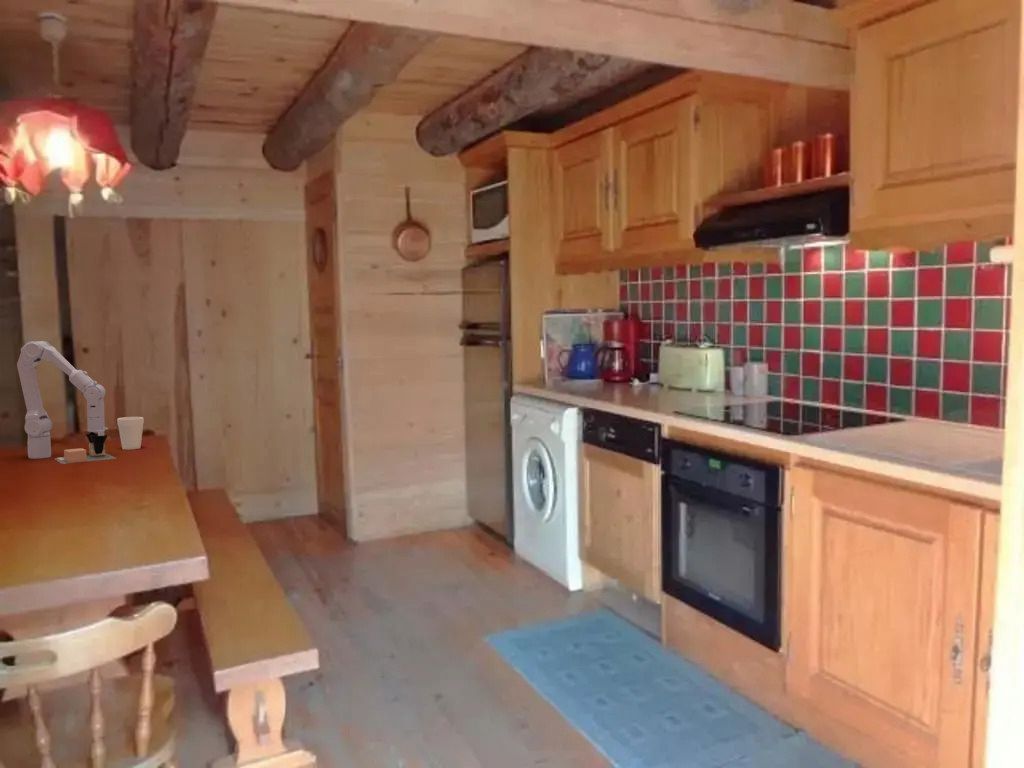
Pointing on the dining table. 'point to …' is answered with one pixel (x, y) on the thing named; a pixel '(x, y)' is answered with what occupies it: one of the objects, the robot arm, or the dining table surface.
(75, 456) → the terracotta block
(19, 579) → the dining table surface
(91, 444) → the cream cube
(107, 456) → the build board
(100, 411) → the robot arm
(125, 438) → the foam cup
